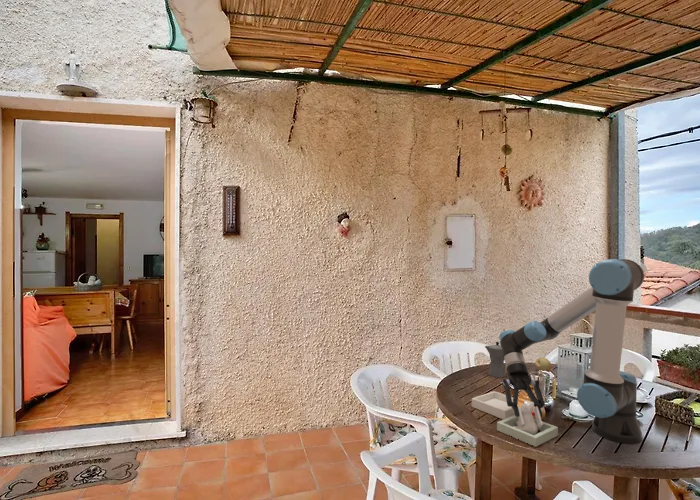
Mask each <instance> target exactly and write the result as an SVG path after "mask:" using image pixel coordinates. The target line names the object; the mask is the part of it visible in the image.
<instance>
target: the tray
mask: <svg viewBox="0 0 700 500" xmlns="http://www.w3.org/2000/svg"><path fill="white" fill-rule="evenodd" d="M511 399H512V402H513V397H512V396H511ZM471 407H472V408H474V409H477V410H479V411H481V412H483V413H487V414H489V415H492V416H494V417H496V418H499V419H501V420H504V419H506V418H509V417H511V416H514V415H515V413H514V409H513V408H512V407H511V406H510V407H509V406H508V405H507V400H506V395H505V394H503V393H501V392H499V391H495V390H493V391H490V392H488V393H485V394H481V395H478V396H475V397H472V398H471Z"/></svg>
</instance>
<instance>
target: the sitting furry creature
mask: <svg viewBox="0 0 700 500" xmlns="http://www.w3.org/2000/svg"><path fill="white" fill-rule="evenodd" d="M521 405H522V406H521V411H522V416H523V420H524V425H523V427H520V423H519V421H517V422H516V425H515V426H513V427H515V428H517V429H520V430H522V431H524V432H527V433H529V434H532V435H536V434H538V433H539V432H538V427H537V425H536V423H535V422H534V415H533V412H534V402H532V401H529V400H528V399H527V400H524V404H521Z"/></svg>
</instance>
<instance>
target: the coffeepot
mask: <svg viewBox="0 0 700 500" xmlns="http://www.w3.org/2000/svg"><path fill="white" fill-rule="evenodd" d="M484 348H485V349H486V350H487V353H488V354H489V359H490V363H489V367H488V375H489V376H490V377H493V378H498V379H499V378H505V377H506V376H507V372H506V364H505V360H504V355H503V351H502V348H501V345H500V341H496V342H495V344H492V345H485V346H484Z"/></svg>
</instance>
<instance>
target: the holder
mask: <svg viewBox="0 0 700 500" xmlns="http://www.w3.org/2000/svg"><path fill="white" fill-rule="evenodd" d="M533 418H534V417H533ZM517 421H519V419H518V417H516V416H515V415H514V416H511V417H509V418H506V419H501V420H499V421H497V422H496V431H498V432H501V434H505V435H507V436H509V435H510V436H509V437H511V436H512V438H513V439H516V440H518V439H519V441H521V442H523V443H525V444H527V443H528V444H527V445H530V446H532V445H533V446H532V447H535V448H536V447H538V446H540V445H542V444H545V443H546V442H549V441H550V440H552V439H554V438H556V437H557V436H559V427H558V426H557V425H553V424H550V423H548V422H545V421H542V424H543V425H542V426H541V428H538V430H539V431H540V432H537V434H535V435H532V434H529V433H527V432H524V431H522V430H520V429H517V428H515V427H513V426H517V425H516V422H517ZM534 422H535V423H536V425H537V427H538V424H537V420H536V417H535V418H534Z"/></svg>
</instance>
